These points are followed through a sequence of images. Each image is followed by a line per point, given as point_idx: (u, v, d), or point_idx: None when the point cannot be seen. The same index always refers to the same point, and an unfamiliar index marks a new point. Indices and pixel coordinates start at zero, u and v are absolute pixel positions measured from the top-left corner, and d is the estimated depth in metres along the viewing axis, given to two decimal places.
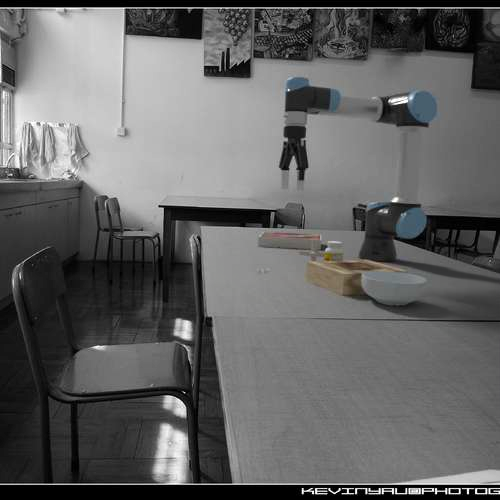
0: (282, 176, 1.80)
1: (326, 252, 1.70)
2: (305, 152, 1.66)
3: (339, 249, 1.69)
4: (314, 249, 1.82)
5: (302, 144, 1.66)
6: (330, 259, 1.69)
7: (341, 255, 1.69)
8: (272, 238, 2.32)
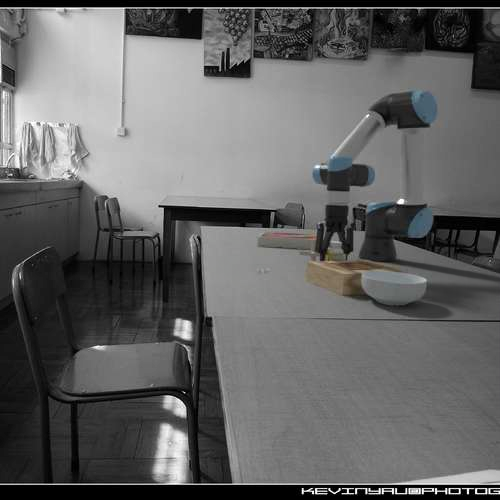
0: None
1: None
2: (319, 236, 1.67)
3: (339, 249, 1.69)
4: (314, 249, 1.82)
5: (319, 227, 1.67)
6: (330, 258, 1.69)
7: (341, 255, 1.69)
8: (271, 238, 2.32)
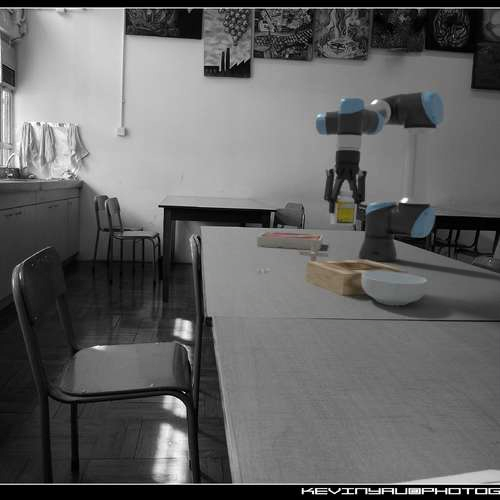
0: None
1: (336, 201, 1.61)
2: (329, 183, 1.58)
3: (350, 197, 1.60)
4: (314, 249, 1.82)
5: (328, 174, 1.58)
6: (339, 207, 1.60)
7: (352, 204, 1.60)
8: (271, 238, 2.32)
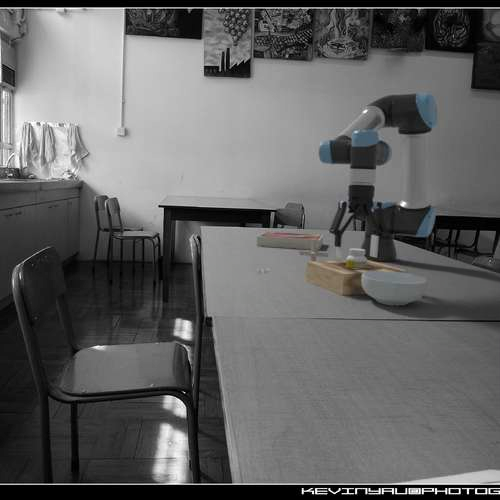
0: (371, 242, 1.57)
1: (348, 260, 1.54)
2: (339, 215, 1.49)
3: (362, 257, 1.53)
4: (314, 249, 1.82)
5: (340, 206, 1.49)
6: (352, 267, 1.52)
7: (365, 264, 1.53)
8: (270, 238, 2.32)
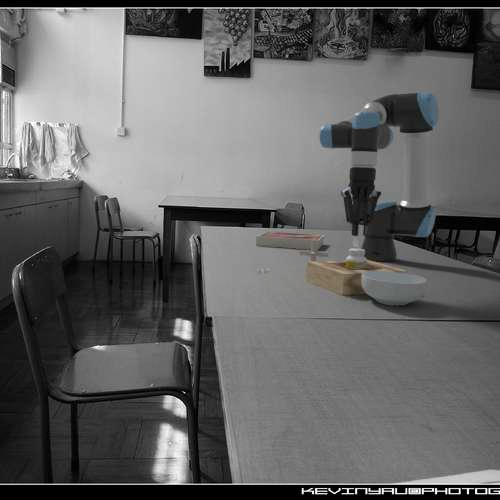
0: None
1: (347, 261, 1.53)
2: (348, 205, 1.50)
3: (362, 257, 1.53)
4: (314, 249, 1.82)
5: (345, 196, 1.50)
6: None
7: (364, 264, 1.53)
8: (270, 238, 2.33)
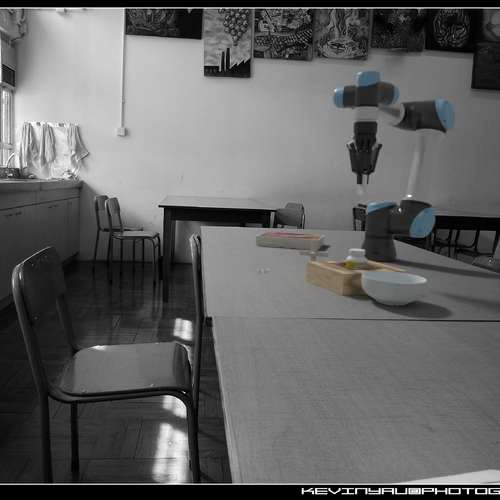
0: None
1: (348, 261, 1.53)
2: (353, 156, 1.66)
3: (362, 258, 1.52)
4: (314, 249, 1.82)
5: (350, 148, 1.66)
6: None
7: (364, 264, 1.52)
8: (269, 237, 2.33)
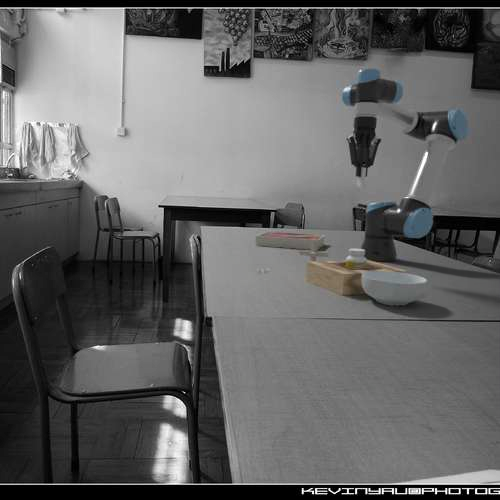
0: None
1: (347, 261, 1.53)
2: (352, 149, 1.74)
3: (362, 257, 1.52)
4: (314, 249, 1.82)
5: (350, 141, 1.74)
6: None
7: (364, 264, 1.52)
8: (269, 237, 2.33)
